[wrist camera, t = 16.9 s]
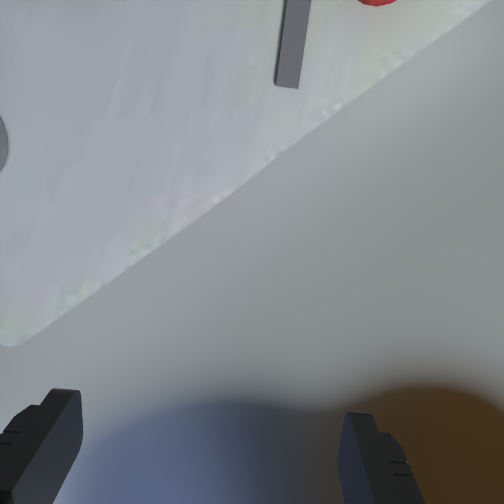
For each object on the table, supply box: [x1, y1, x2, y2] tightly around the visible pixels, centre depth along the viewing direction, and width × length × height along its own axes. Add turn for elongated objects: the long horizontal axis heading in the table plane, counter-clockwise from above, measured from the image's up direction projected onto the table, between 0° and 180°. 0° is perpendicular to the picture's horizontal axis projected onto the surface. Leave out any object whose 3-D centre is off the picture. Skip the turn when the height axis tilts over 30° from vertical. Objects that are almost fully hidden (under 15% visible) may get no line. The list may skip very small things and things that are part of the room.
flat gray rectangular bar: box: [276, 0, 311, 89], centre depth 37 cm, size 2×14×1 cm, turn 173°
